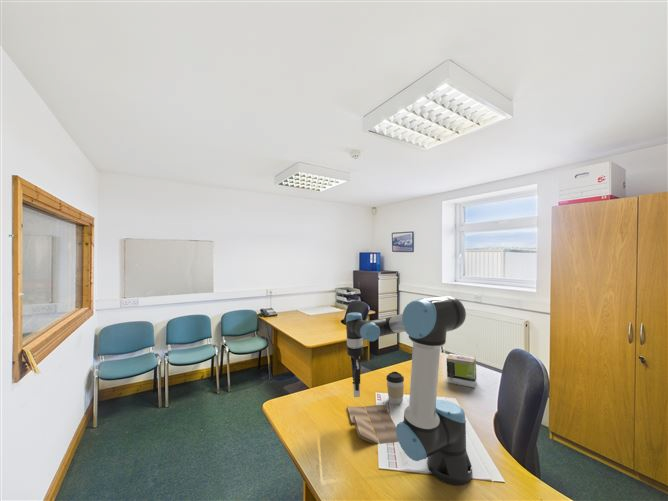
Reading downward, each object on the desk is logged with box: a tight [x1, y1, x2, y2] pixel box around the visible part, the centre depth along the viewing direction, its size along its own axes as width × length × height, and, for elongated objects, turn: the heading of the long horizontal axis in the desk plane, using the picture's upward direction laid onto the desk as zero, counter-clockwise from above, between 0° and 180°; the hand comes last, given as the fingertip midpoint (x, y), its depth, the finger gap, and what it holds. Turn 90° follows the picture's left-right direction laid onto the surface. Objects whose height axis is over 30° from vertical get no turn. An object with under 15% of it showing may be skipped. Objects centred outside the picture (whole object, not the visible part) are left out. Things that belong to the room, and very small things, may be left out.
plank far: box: [346, 405, 372, 426], centre depth 137 cm, size 14×9×1 cm, turn 6°
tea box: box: [446, 353, 478, 389], centre depth 170 cm, size 15×10×15 cm, turn 58°
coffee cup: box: [386, 371, 405, 405], centre depth 149 cm, size 9×9×15 cm
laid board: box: [364, 404, 399, 445], centre depth 131 cm, size 28×10×1 cm, turn 6°
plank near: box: [353, 415, 380, 445], centre depth 123 cm, size 14×9×1 cm, turn 6°
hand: (356, 396), depth 134 cm, fingers closed
